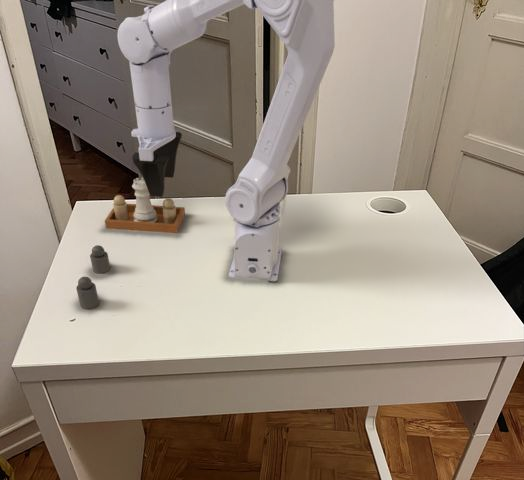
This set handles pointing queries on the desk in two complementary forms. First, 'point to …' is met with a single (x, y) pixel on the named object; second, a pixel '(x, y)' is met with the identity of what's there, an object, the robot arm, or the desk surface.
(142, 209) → the rook chess piece
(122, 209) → the ivory piece
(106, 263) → the grey pawn
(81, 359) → the desk surface
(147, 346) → the desk surface
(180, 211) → the oak tray
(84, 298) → the grey pawn
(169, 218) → the ivory piece
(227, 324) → the desk surface
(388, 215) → the desk surface
